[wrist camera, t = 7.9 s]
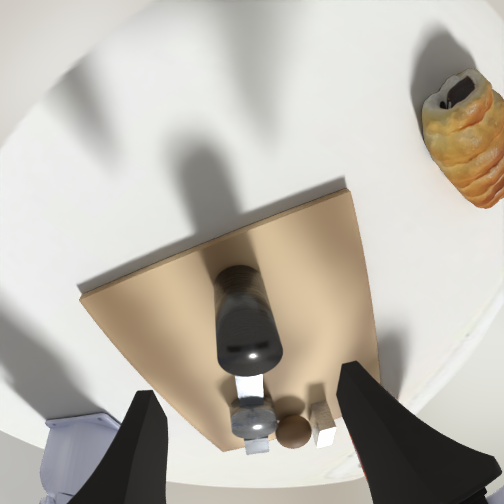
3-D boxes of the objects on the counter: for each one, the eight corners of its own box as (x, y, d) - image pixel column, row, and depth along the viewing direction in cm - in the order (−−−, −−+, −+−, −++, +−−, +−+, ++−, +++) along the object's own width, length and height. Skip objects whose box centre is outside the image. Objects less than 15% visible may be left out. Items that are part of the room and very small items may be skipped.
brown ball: (278, 429, 26) (284, 457, 23) (267, 415, 24) (273, 445, 22) (310, 419, 26) (318, 446, 23) (302, 404, 24) (311, 434, 21)
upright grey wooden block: (323, 419, 26) (331, 444, 24) (309, 422, 26) (316, 448, 23) (326, 399, 24) (336, 426, 22) (311, 403, 24) (319, 431, 22)
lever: (273, 431, 25) (284, 479, 21) (235, 436, 25) (241, 484, 20) (270, 261, 17) (293, 326, 12) (203, 268, 16) (202, 337, 12)
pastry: (506, 166, 17) (540, 183, 14) (457, 222, 19) (491, 246, 15) (459, 59, 13) (501, 61, 10) (399, 116, 15) (440, 125, 12)
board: (222, 447, 28) (223, 452, 27) (81, 294, 17) (79, 300, 17) (379, 395, 27) (381, 399, 26) (345, 188, 16) (350, 191, 16)
